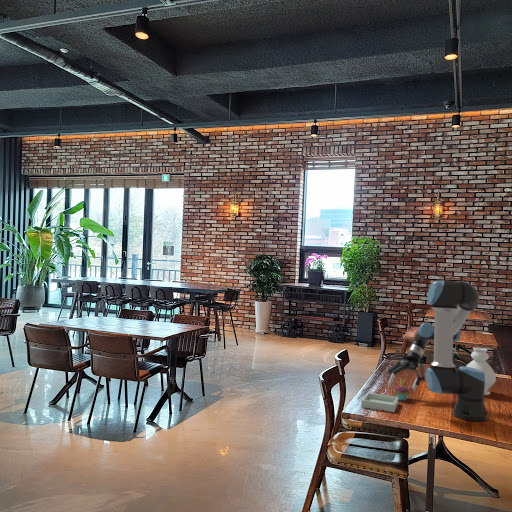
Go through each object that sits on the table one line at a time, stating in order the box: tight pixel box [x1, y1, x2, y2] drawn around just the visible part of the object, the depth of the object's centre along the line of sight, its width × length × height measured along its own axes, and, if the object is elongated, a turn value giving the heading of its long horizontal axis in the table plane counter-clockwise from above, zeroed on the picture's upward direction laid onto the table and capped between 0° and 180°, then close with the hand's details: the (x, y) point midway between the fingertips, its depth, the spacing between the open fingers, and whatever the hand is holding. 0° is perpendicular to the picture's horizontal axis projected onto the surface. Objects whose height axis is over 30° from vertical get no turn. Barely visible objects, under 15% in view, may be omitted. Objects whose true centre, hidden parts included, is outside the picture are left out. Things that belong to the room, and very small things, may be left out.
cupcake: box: [392, 378, 411, 401], centre depth 272 cm, size 9×8×12 cm
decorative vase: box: [465, 347, 497, 396], centre depth 294 cm, size 18×18×25 cm
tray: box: [360, 392, 399, 413], centre depth 258 cm, size 16×16×4 cm
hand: (401, 386), depth 272 cm, fingers open, 13 cm apart
